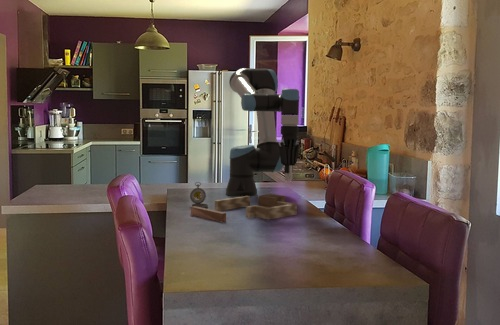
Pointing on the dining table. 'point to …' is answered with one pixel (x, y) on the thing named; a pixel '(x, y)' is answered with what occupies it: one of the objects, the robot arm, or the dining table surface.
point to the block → (270, 200)
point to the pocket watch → (198, 196)
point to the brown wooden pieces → (251, 211)
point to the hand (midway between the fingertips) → (288, 180)
